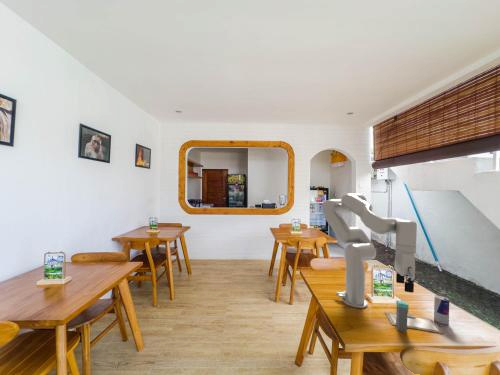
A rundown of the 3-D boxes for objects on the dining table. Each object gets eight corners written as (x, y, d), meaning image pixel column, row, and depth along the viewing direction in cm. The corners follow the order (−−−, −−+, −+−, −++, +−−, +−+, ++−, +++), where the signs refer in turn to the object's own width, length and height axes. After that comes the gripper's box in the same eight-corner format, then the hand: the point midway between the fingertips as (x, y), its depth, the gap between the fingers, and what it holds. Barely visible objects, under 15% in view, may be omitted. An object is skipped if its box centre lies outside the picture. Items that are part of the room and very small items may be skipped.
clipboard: (391, 325, 105) (391, 322, 105) (384, 312, 116) (384, 310, 116) (444, 334, 100) (444, 331, 100) (431, 320, 110) (431, 317, 110)
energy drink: (448, 328, 104) (449, 301, 104) (433, 323, 108) (434, 297, 108) (448, 323, 108) (449, 297, 108) (434, 318, 112) (435, 293, 112)
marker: (398, 331, 101) (399, 303, 101) (395, 326, 104) (396, 300, 104) (408, 333, 100) (409, 305, 100) (405, 328, 103) (406, 301, 103)
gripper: (389, 243, 112) (388, 278, 111) (403, 252, 95) (402, 294, 95) (407, 244, 110) (406, 281, 110) (424, 254, 93) (423, 297, 93)
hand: (404, 287), depth 102 cm, fingers open, 9 cm apart
